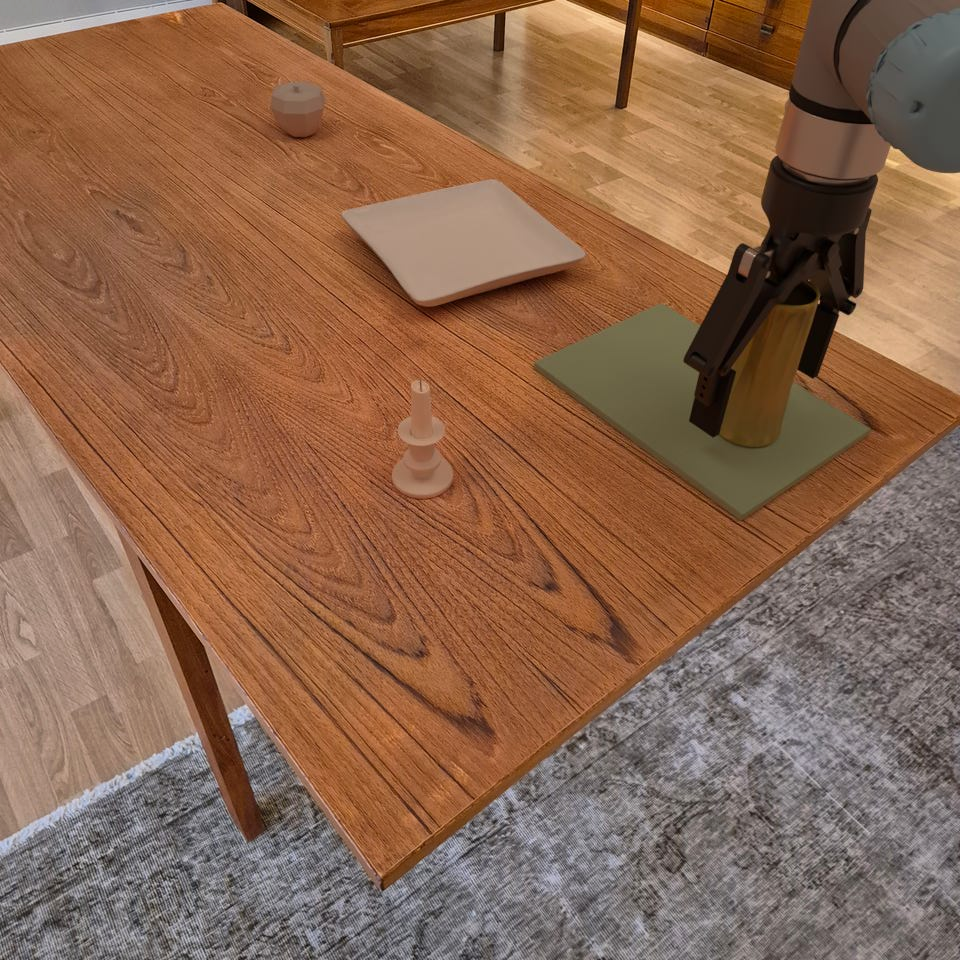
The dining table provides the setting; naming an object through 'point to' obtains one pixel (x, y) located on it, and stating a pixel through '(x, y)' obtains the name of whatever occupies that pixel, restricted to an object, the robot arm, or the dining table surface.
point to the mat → (667, 407)
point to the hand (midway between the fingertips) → (755, 398)
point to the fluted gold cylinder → (769, 370)
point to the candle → (421, 450)
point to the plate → (462, 241)
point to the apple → (298, 107)
